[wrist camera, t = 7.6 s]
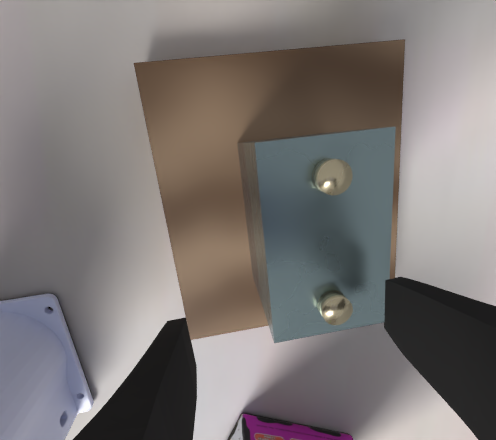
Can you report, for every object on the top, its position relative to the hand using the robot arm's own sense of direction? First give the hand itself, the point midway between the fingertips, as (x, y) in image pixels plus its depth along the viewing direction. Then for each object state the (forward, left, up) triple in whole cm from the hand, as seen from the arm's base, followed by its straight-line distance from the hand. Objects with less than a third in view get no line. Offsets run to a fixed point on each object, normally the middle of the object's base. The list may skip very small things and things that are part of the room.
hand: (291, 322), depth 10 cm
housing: (+2, -2, -7) cm, 8 cm away
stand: (+2, -2, -9) cm, 10 cm away
